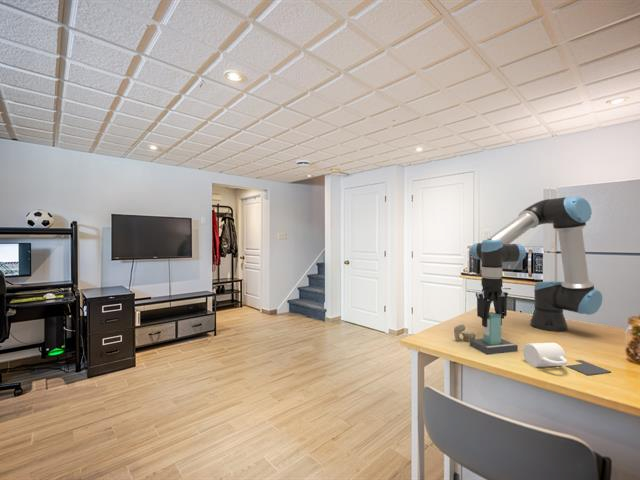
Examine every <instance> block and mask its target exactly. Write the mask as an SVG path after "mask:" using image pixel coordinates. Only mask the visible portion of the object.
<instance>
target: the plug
mask: <svg viewBox="0 0 640 480" xmlns="http://www.w3.org/2000/svg"><path fill="white" fill-rule="evenodd" d="M488 319H490V336H488V335H485V334H483V333H482V334H483V335H482V337H483V338H482V339H483V341H484V342H486V343H488V344H491V345H501V339H502V326H501V315H500V314H497V313H495V311H491V312H490V311H489V315H488Z"/></svg>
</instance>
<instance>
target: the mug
mask: <svg viewBox="0 0 640 480" xmlns="http://www.w3.org/2000/svg"><path fill="white" fill-rule="evenodd" d="M522 356H523V358H524V361H525V362H526V363H527V364H529V365H530V366H532V367H534V368H545V367H550V368H551V367H563V366H567V365H568V362H569V361H568V360H567V356H566V353H565V350H564V348H563V347H562V346H561V345H560V344H558V343H556V342H538V343H536V342H535V343H532V342H531V343H526V344H525V345H524V346H523V349H522Z"/></svg>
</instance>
